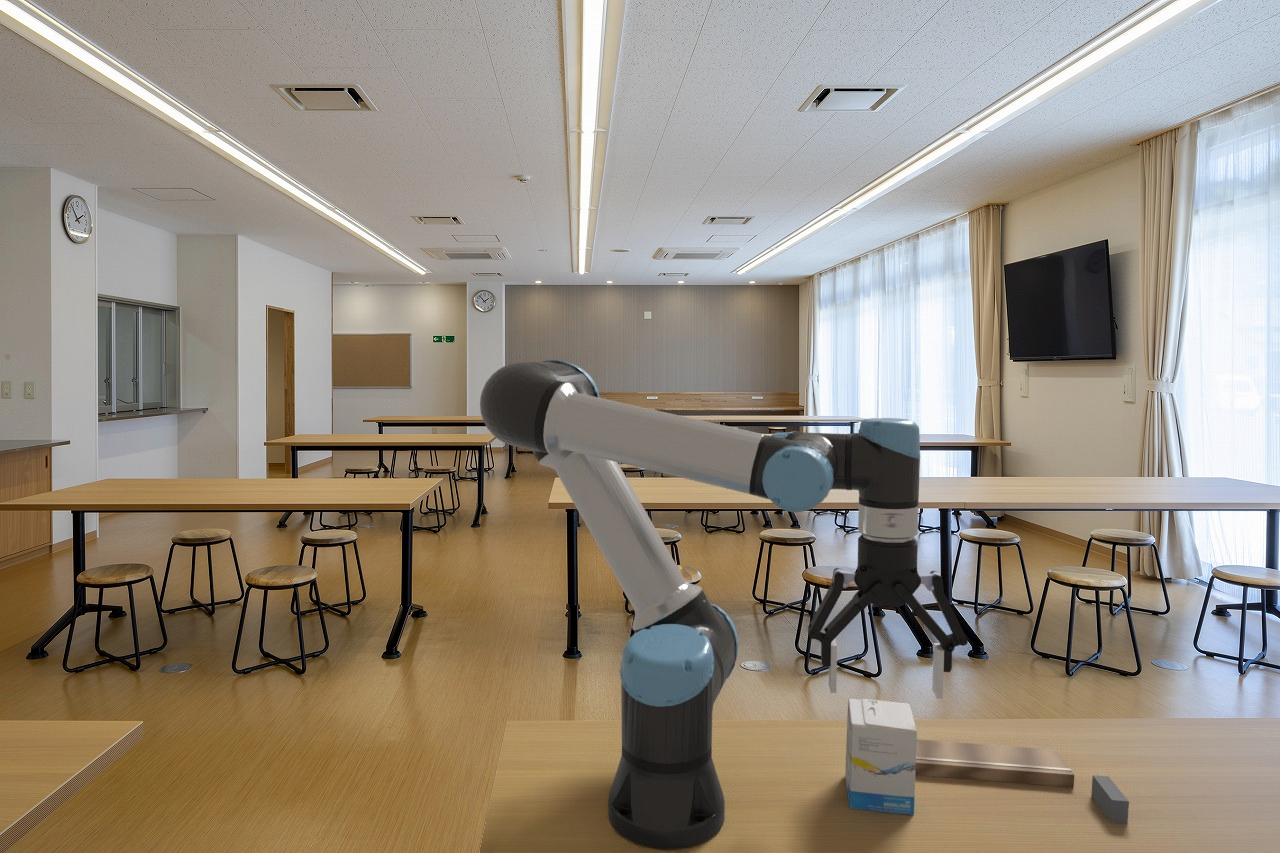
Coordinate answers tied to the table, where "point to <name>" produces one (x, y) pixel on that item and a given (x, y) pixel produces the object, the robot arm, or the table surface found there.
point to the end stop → (1110, 799)
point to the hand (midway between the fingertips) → (884, 691)
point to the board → (992, 763)
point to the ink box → (880, 756)
